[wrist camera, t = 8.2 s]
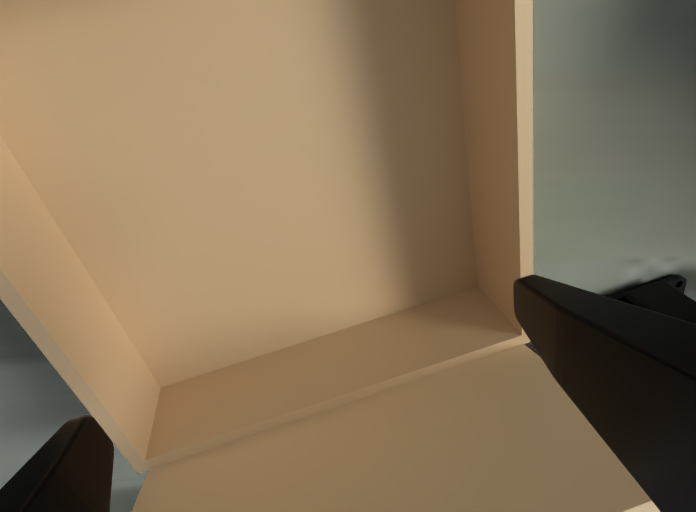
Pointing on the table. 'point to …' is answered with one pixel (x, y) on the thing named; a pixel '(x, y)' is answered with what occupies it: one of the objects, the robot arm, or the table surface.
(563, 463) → the flap
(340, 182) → the carton
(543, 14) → the table surface
